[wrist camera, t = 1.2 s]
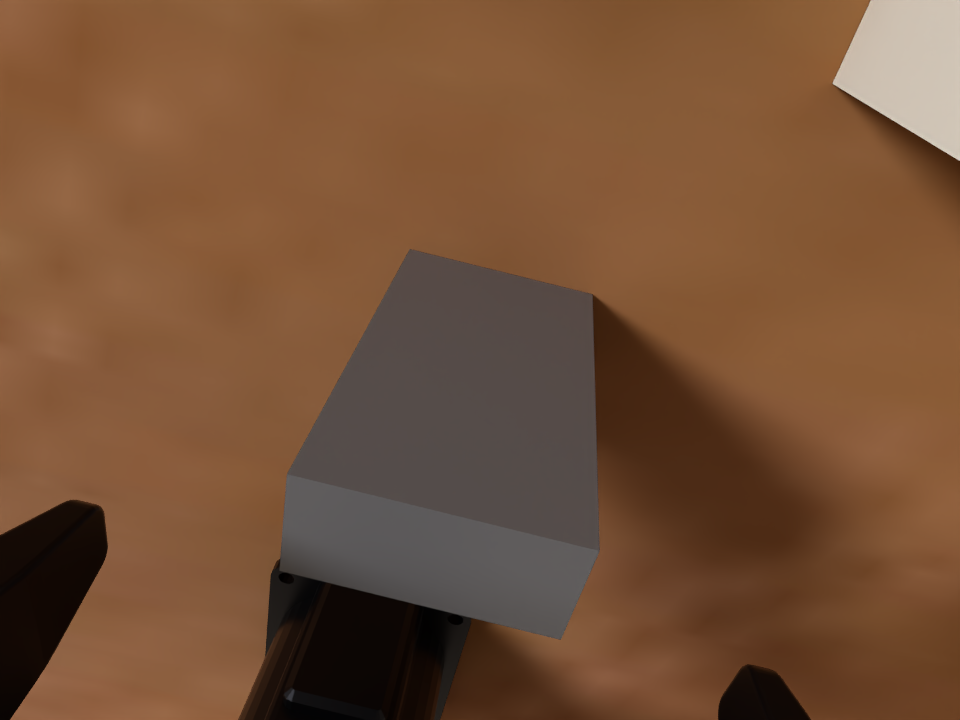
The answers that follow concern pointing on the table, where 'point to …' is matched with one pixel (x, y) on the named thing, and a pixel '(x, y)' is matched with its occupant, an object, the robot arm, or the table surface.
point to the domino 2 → (909, 67)
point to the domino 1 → (457, 451)
